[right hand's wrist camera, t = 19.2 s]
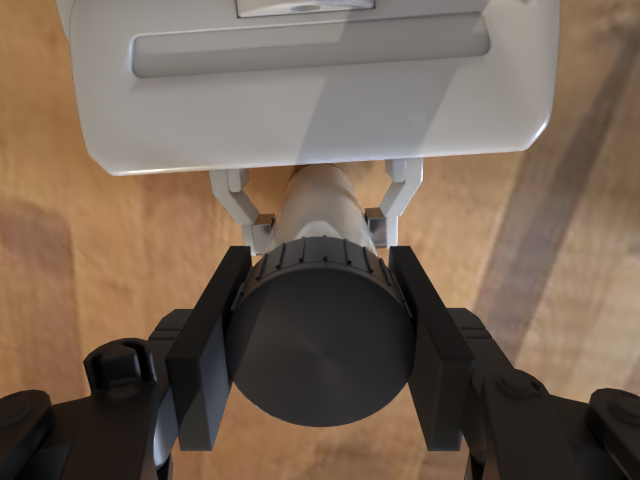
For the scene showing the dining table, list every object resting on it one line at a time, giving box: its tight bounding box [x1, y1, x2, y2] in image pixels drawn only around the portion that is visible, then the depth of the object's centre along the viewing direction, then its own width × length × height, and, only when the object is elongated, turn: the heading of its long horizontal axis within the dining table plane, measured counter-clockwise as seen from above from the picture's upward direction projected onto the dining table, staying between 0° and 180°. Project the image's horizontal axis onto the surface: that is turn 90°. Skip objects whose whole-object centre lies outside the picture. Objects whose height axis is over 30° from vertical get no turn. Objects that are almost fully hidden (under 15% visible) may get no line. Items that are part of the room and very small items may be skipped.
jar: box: [261, 164, 379, 259], centre depth 19 cm, size 5×5×16 cm
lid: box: [224, 235, 416, 427], centre depth 12 cm, size 5×6×2 cm
